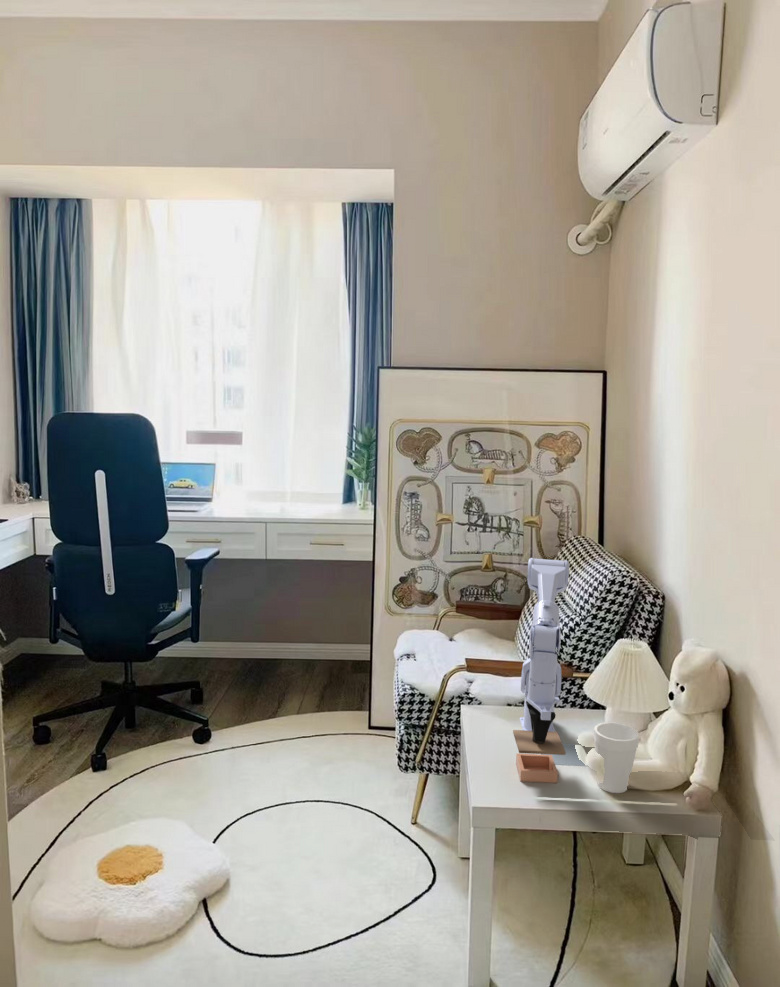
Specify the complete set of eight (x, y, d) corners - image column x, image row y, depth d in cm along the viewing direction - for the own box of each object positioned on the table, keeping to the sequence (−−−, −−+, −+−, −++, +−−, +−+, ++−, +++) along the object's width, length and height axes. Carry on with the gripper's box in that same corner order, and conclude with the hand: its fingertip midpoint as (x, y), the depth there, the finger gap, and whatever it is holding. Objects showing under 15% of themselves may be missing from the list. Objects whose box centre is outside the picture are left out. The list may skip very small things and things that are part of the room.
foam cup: (639, 784, 181) (644, 729, 179) (628, 803, 173) (633, 745, 171) (596, 773, 186) (600, 718, 184) (584, 790, 178) (588, 733, 176)
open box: (515, 765, 188) (516, 753, 187) (550, 767, 188) (551, 755, 187) (520, 783, 180) (521, 770, 179) (556, 785, 180) (557, 772, 179)
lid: (513, 732, 188) (514, 713, 187) (556, 734, 187) (558, 715, 187) (519, 753, 178) (520, 733, 177) (565, 754, 178) (566, 734, 177)
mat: (536, 744, 199) (537, 742, 199) (582, 746, 199) (582, 744, 199) (543, 766, 188) (544, 764, 188) (592, 768, 188) (592, 766, 188)
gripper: (566, 692, 173) (562, 753, 175) (555, 667, 187) (551, 724, 189) (533, 691, 173) (529, 751, 175) (524, 666, 188) (520, 722, 190)
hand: (538, 737), depth 182 cm, fingers closed on lid, 3 cm apart
